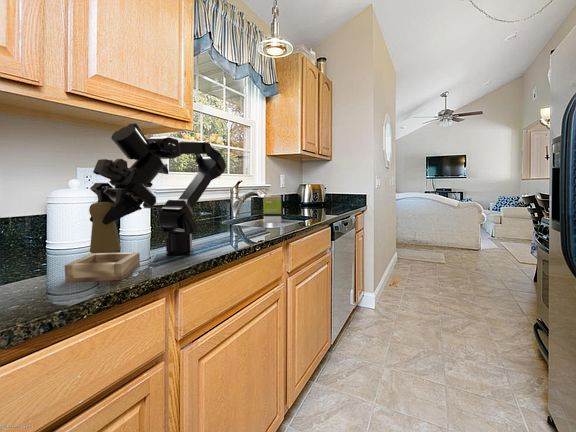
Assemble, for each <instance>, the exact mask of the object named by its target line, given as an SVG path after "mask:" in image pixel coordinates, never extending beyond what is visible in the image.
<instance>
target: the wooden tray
mask: <svg viewBox="0 0 576 432" xmlns="http://www.w3.org/2000/svg"><path fill="white" fill-rule="evenodd" d="M140 258H141V257H140V252H139V251H138V252H135V251H133V252H132V251H131V252H110V253H89V254H87V255H84V256H82V257H81V258H78V259H76V260H73V261H71V262H69V263H66V264H65V265H64V276H65V277H64V278H65V283H70V282H71V283H72V282H73V283H74V282H95V281H97V282H99V281H103V282H105V281H123V280H124V279H126V277H128V276H129V275H130V274H132V273H133V272H134V271H135V270H137V269H138V268H140V266H141V259H140Z"/></svg>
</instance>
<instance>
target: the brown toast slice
mask: <svg viewBox="0 0 576 432" xmlns="http://www.w3.org/2000/svg"><path fill="white" fill-rule="evenodd" d="M112 206H113V203H109V202H98V203H97V202H93V203H92V204H90V206H89V209H88V213H89V215H90V217H91V216H92V217H93V221H92V222H91V233H90V234H91V235H90V246H89V254H91V253H116V252H120V250H121V248H122V247H121V244H120V238H119V233H118V229H117V224H116V220H115V221H113V222H111V223H109V224H107V225H105V224H104V223H102V220H103V219H104V217H105V216H106V214H107V213H108V211H109V210H110V208H111V207H112Z"/></svg>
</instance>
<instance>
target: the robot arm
mask: <svg viewBox="0 0 576 432" xmlns="http://www.w3.org/2000/svg"><path fill="white" fill-rule="evenodd" d="M111 140H112V141H113V143H114V144H115V145H116V146H117V147H118V149H119V150H120V151H121V152H122V154H123V155H124V156H125V157H126V158H127V159H128V160H134V163H133V164H132V165H131V166H130V167H128V161H127V160H125V159H123V158H116V159H114V160H112V159H108V158H107V159H106V158H105V159H97V162H96V164H95V166H94V169H93V172H92V173H93V174H95V175H96V176H101V177H104V178H105V179H108V180H109V181H108V182H95V183H93V184H92V186H91V187H89V189H90V191H92V192H93V193H94V194H95V195H96V196H97V202H96V203H98V202H109V203H113V206H112V207H111V208H110V210H109V211H108V213H107V214H106V216H105V217H104V219H103V220H102V223H104V224H105V225H107V224H109V223H111V222H113V221H115V222H116V221H118V220H119V219H122V218H124V217H126V216H127V215H128V216H129V215H131V214H132V213H135V212H139V211H141V210H143V208H144V209H153V207H154V206H155V205H156V204H157V196H156V195H155V194H153V192H152V191H151V190H150V189H149V188H152V186H154V185H153V180H154V179H155V178H156V177H157V176H158V175H159V174H163V175H168V174H169V168H168V164H167V163H164V161H162V160H173V159H175V158H179V157H180V156H182V155H190V154H191V155H195V163H196V164H197V169H198V172H197V173H196V175H195V176H194V177H193V179H192V181H191V182H190V183H189V185H187V186H186V188H185V190H184V191H183V192H182V193H181V195H180V196H179V198H178V199H168V200H167V201H166V202H165V204H164V206H163V207H161V208H160V210H161V211H160V213H158V220H159V224H160V227H161V229H162V233H165V234H166V233H167V237H166V238H165V247H166V248H165V249H166V250H165V252H166V256H178V255H179V256H183V255H185V256H186V255H187V256H188V255H190V254H192V253H193V251H194V248H193V236H192V234H195V233H197V231H198V224H197V222H196V221H195V220H194V212H193V208H194V207H195V206H196V204H197V202H199V199H201V197H202V196H203V194H204V193H205V191H206V189H207V188H208V186H209V185H210V184H211V182H212V181H213V180H214V179H215V180H216V179H217V178H219V177H220V176H222V175H223V174H224V172H225V171H226V168H227V163H226V161H225V159H224V157H223V156H222V154H221V153H220V152H219V151H218V150H216V149H214V148H213V146H212V145H211V143H210V142H209V141H204V140H202V141H181V140H179V139H178V138H174V137H172V136H160V137H159V136H158V137H148V138H146V136H145V135H144V134H143V132H142V131H141V128H140V127H139V126H138V124H137V123H135V122H134V123H129V124H128V125H127V126H125V127H122V128H120V129H118V130H116V131H114V132H113V134H112V135H111ZM202 155H206V156H202ZM113 186H114V187H113ZM141 205H142V207H143V208H142V207H141ZM89 221H90V222H91V223H92V221H93V217H92V216H91V215H90V218H89Z"/></svg>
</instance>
